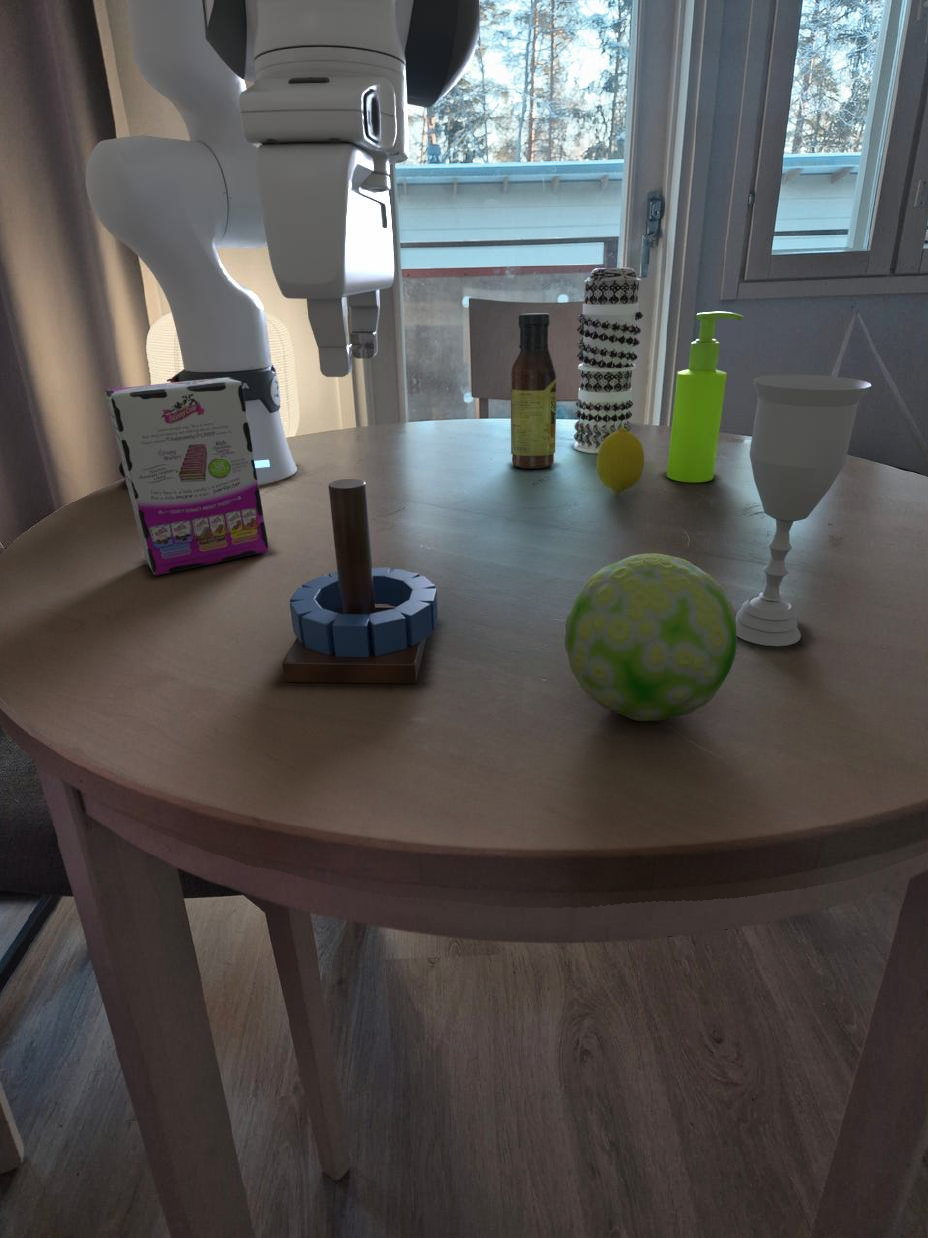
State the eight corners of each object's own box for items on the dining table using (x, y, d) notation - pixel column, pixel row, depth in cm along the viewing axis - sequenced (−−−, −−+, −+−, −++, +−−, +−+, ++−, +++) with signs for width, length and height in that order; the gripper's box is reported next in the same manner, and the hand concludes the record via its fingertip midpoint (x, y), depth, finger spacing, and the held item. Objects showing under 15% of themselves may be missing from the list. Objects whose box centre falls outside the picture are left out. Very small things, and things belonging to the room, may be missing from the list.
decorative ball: (737, 763, 40) (767, 598, 35) (556, 747, 41) (564, 588, 37) (713, 674, 48) (735, 533, 44) (565, 663, 50) (572, 527, 46)
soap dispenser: (721, 484, 91) (744, 313, 82) (664, 480, 93) (682, 313, 84) (721, 473, 96) (744, 310, 87) (668, 470, 98) (685, 310, 89)
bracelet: (276, 656, 49) (272, 624, 48) (315, 594, 58) (311, 566, 57) (428, 658, 48) (427, 626, 47) (442, 595, 57) (441, 567, 56)
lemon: (641, 501, 85) (647, 433, 81) (593, 499, 86) (598, 432, 82) (640, 488, 90) (646, 423, 86) (595, 487, 91) (599, 422, 87)
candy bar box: (255, 539, 75) (229, 375, 68) (270, 553, 71) (245, 380, 64) (142, 561, 70) (101, 386, 63) (152, 577, 66) (110, 393, 59)
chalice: (837, 645, 52) (898, 385, 44) (757, 659, 50) (805, 392, 42) (771, 605, 58) (814, 372, 50) (697, 616, 56) (730, 377, 49)
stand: (284, 682, 48) (257, 503, 43) (316, 623, 57) (297, 466, 51) (416, 684, 48) (406, 503, 42) (429, 624, 56) (422, 466, 51)
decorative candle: (595, 438, 117) (606, 268, 106) (643, 447, 111) (659, 266, 100) (559, 447, 111) (566, 268, 100) (607, 457, 105) (620, 267, 94)
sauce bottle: (560, 469, 99) (566, 313, 91) (516, 471, 98) (518, 315, 90) (547, 458, 105) (552, 311, 96) (505, 460, 104) (506, 312, 96)
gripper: (324, 150, 53) (340, 349, 59) (224, 91, 35) (262, 388, 41) (409, 149, 52) (415, 349, 59) (353, 89, 34) (371, 389, 40)
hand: (352, 365), depth 50 cm, fingers open, 8 cm apart
